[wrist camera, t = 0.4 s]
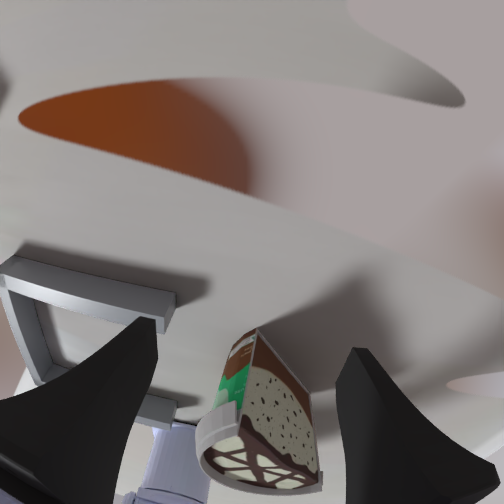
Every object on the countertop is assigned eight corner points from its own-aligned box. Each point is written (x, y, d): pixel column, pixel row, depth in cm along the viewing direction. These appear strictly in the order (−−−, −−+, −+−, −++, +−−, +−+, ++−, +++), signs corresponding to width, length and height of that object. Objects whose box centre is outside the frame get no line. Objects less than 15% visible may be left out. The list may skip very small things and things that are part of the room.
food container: (182, 342, 24) (148, 445, 15) (245, 314, 22) (231, 430, 13) (261, 418, 28) (256, 504, 19) (316, 400, 26) (324, 492, 17)
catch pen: (176, 408, 28) (170, 431, 26) (47, 367, 28) (35, 384, 25) (175, 292, 22) (163, 317, 19) (13, 255, 22) (-7, 270, 19)
